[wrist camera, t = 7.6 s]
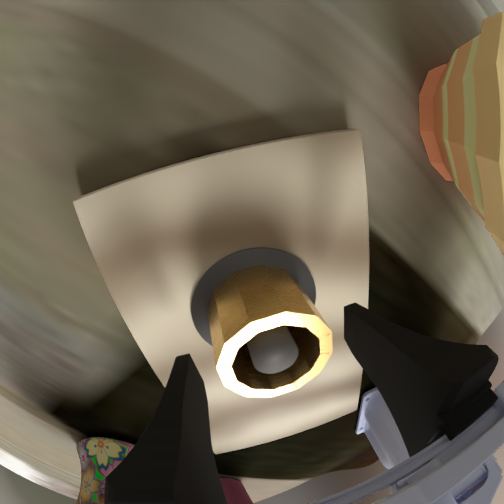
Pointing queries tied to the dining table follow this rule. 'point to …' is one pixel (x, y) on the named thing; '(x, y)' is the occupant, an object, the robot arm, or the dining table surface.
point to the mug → (98, 465)
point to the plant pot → (234, 491)
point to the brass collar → (261, 319)
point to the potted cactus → (470, 122)
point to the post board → (240, 266)
